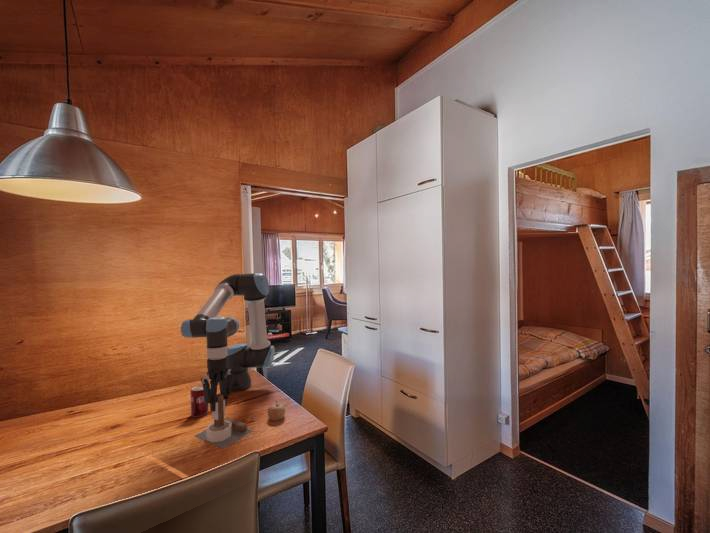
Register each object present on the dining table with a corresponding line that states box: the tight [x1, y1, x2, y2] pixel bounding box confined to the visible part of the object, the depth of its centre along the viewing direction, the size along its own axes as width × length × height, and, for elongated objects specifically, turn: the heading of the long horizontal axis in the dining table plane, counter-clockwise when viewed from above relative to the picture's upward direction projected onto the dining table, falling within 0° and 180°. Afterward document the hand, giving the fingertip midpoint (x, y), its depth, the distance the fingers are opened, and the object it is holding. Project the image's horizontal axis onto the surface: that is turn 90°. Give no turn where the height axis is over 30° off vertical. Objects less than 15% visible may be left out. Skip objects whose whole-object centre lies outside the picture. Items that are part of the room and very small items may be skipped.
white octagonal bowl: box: [205, 420, 232, 442], centre depth 124 cm, size 9×9×4 cm
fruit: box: [267, 400, 286, 422], centre depth 138 cm, size 8×7×8 cm
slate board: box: [194, 428, 254, 449], centre depth 126 cm, size 14×18×1 cm
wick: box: [224, 416, 248, 433], centre depth 130 cm, size 12×2×2 cm, turn 59°
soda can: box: [189, 384, 210, 418], centre depth 146 cm, size 7×7×12 cm
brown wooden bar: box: [213, 393, 225, 428], centre depth 124 cm, size 2×2×12 cm
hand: (218, 417), depth 124 cm, fingers closed on brown wooden bar, 2 cm apart
